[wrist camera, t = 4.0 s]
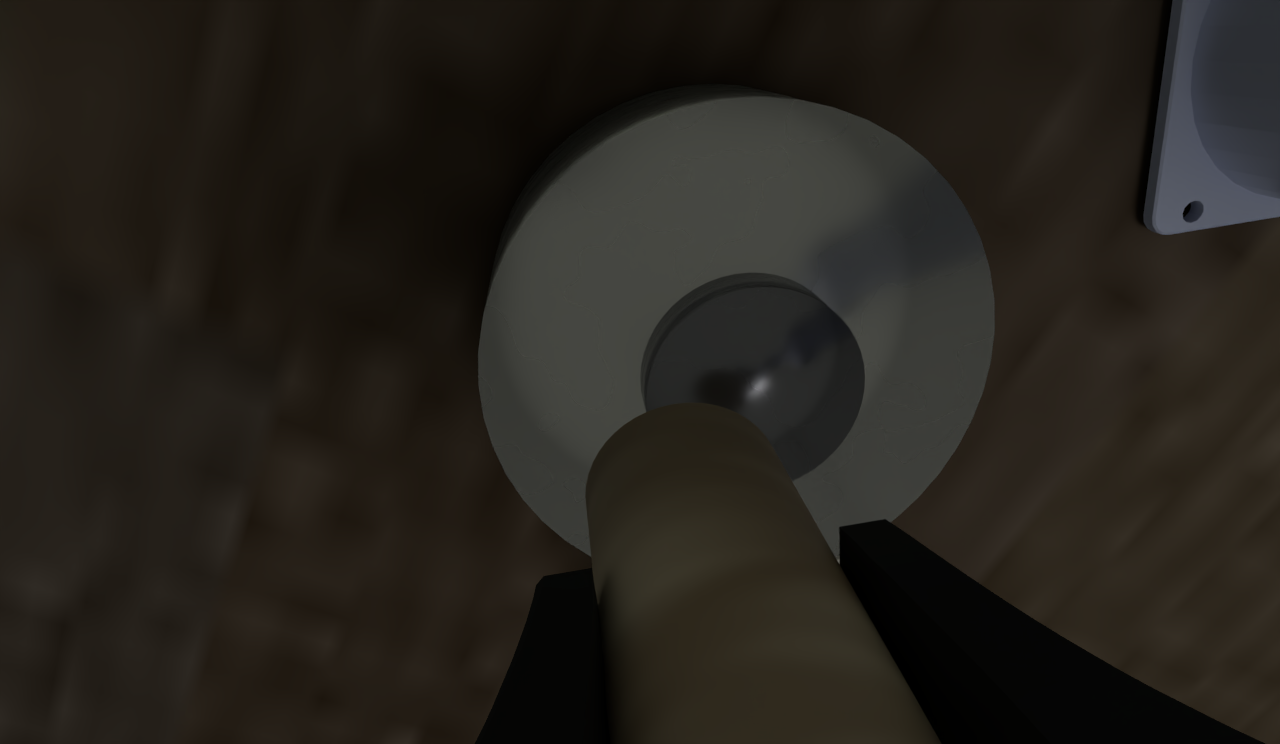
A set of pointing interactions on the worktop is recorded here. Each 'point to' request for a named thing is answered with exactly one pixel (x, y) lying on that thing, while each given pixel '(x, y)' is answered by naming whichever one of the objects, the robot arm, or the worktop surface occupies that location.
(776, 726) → the key peg
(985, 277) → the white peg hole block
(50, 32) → the worktop surface
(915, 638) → the robot arm
